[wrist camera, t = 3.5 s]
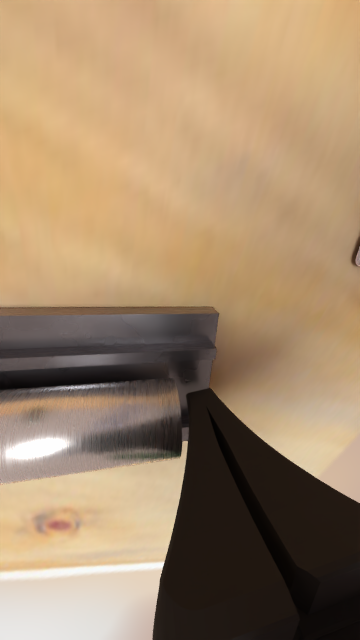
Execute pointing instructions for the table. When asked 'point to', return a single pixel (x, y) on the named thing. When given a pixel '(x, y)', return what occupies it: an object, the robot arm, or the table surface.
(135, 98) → the table surface
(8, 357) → the rail
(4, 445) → the tube
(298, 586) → the robot arm
